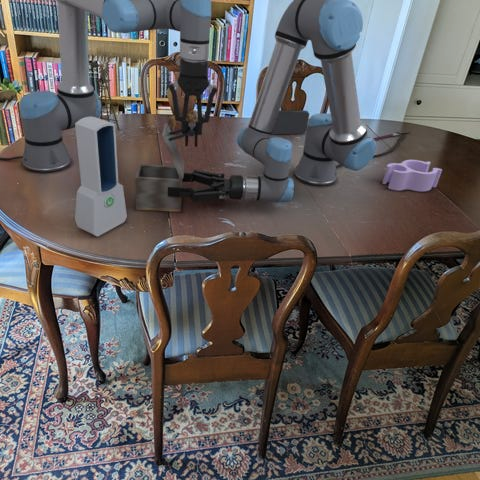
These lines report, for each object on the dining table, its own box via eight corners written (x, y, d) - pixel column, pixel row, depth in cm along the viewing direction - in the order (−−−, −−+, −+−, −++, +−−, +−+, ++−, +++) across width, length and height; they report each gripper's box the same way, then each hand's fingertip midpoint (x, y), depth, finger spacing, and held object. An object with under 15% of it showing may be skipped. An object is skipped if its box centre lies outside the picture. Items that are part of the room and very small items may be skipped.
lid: (161, 135, 127) (191, 125, 126) (164, 123, 135) (192, 114, 134) (180, 179, 135) (208, 170, 134) (181, 165, 143) (208, 157, 142)
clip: (395, 193, 165) (400, 176, 161) (376, 178, 175) (380, 161, 171) (440, 190, 171) (447, 172, 167) (419, 175, 181) (425, 158, 177)
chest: (135, 209, 139) (135, 177, 134) (139, 194, 147) (138, 163, 142) (180, 211, 141) (181, 180, 135) (181, 197, 149) (183, 166, 143)
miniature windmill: (110, 136, 185) (105, 57, 169) (90, 133, 186) (84, 54, 170) (120, 129, 193) (116, 52, 177) (100, 125, 194) (95, 49, 178)
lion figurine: (195, 128, 201) (196, 108, 196) (199, 133, 197) (200, 112, 192) (162, 130, 196) (162, 108, 191) (164, 134, 192) (165, 113, 187)
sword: (405, 131, 224) (406, 128, 224) (410, 133, 222) (411, 130, 222) (362, 142, 208) (362, 140, 208) (367, 144, 206) (368, 142, 206)
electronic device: (94, 238, 124) (84, 130, 108) (75, 229, 127) (62, 122, 111) (127, 220, 133) (123, 118, 117) (108, 212, 136) (101, 111, 120)
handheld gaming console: (303, 131, 211) (307, 109, 206) (306, 133, 209) (310, 111, 204) (256, 132, 204) (259, 110, 199) (258, 135, 202) (261, 112, 197)
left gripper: (164, 60, 118) (163, 148, 130) (223, 64, 119) (217, 151, 132) (166, 53, 124) (165, 138, 137) (222, 58, 125) (217, 141, 138)
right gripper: (244, 216, 136) (166, 213, 133) (239, 182, 154) (170, 179, 152) (246, 193, 132) (166, 189, 129) (241, 161, 150) (171, 157, 148)
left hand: (191, 144), depth 134 cm, fingers closed on lid, 2 cm apart
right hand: (168, 183), depth 141 cm, fingers closed on chest, 9 cm apart
